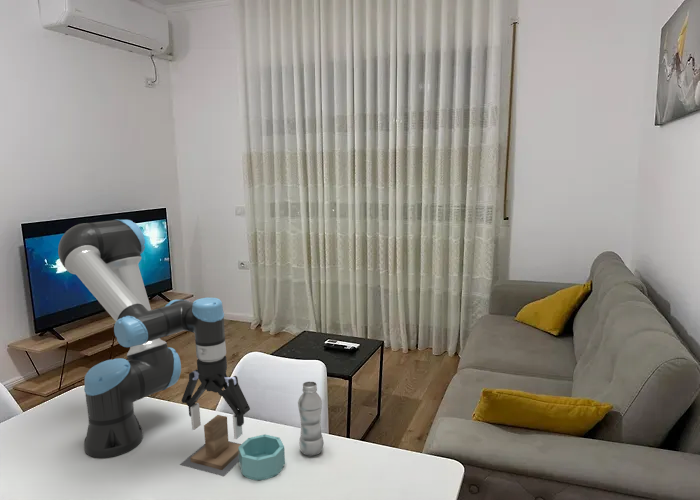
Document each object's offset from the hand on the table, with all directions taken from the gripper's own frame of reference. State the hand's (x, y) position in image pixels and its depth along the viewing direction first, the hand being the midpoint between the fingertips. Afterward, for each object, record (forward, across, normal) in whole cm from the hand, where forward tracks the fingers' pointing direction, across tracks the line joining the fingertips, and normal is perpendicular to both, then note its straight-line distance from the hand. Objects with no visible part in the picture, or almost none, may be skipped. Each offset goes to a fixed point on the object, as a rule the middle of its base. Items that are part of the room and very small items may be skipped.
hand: (217, 431), depth 134 cm
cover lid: (+7, 0, 0) cm, 7 cm away
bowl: (+8, +14, 0) cm, 16 cm away
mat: (+7, 0, 0) cm, 7 cm away
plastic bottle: (+8, +23, +11) cm, 26 cm away
